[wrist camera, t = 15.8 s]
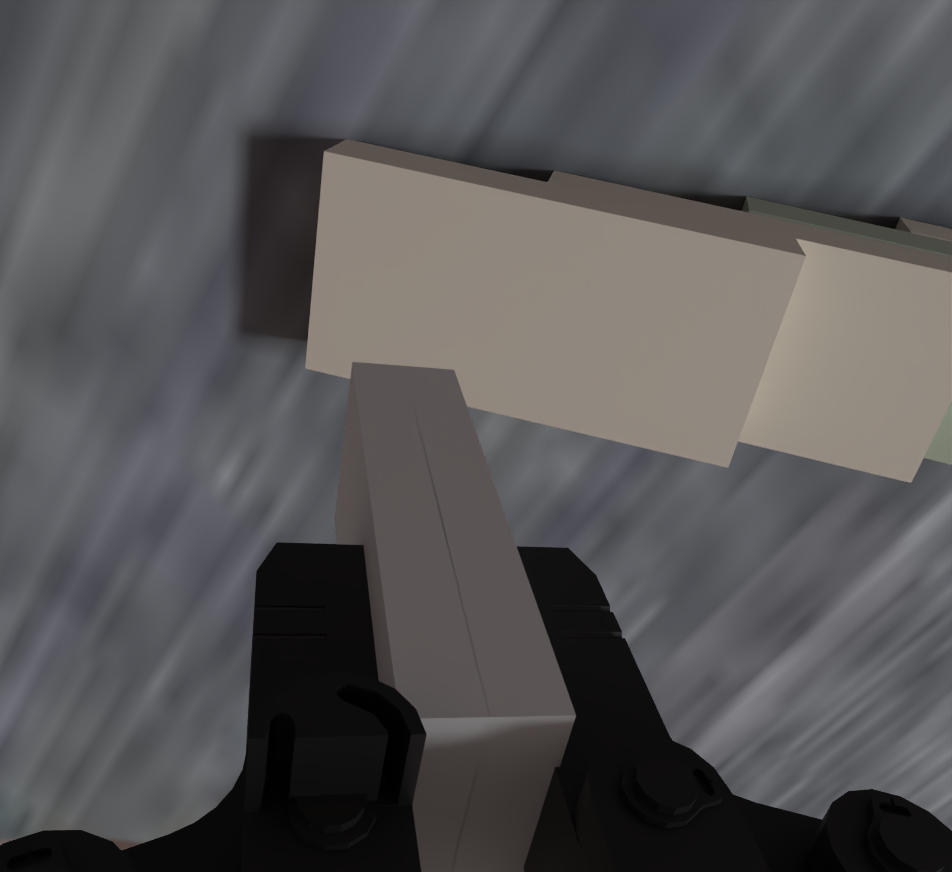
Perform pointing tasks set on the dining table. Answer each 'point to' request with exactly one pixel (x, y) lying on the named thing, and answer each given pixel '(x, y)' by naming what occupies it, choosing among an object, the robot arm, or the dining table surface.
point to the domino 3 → (948, 440)
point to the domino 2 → (845, 345)
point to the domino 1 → (548, 298)
